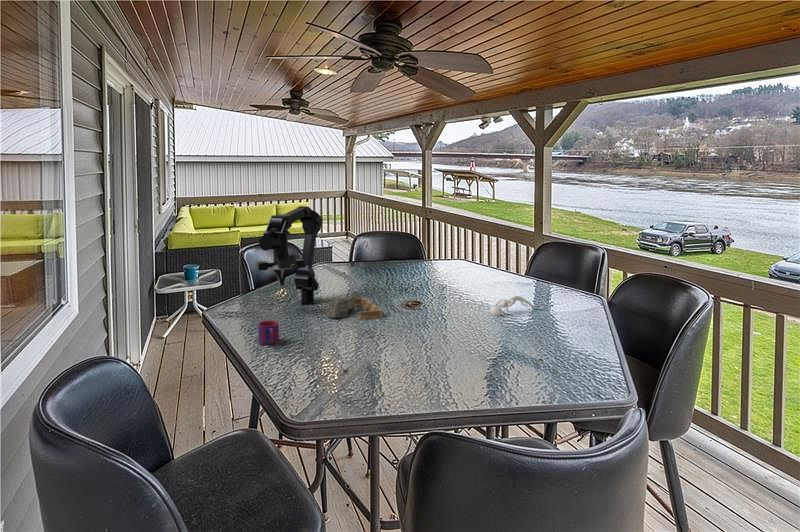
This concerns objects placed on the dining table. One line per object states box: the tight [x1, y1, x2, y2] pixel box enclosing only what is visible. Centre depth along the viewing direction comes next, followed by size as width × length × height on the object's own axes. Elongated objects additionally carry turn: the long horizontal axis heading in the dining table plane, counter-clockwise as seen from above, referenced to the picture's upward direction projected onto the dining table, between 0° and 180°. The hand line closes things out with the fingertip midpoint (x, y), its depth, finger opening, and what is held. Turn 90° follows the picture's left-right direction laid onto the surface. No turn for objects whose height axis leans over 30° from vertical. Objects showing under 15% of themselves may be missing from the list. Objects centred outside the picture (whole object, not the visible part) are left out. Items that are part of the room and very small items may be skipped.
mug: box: [257, 320, 280, 346], centre depth 173 cm, size 7×10×7 cm
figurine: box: [489, 295, 543, 317], centre depth 218 cm, size 9×10×25 cm
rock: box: [325, 295, 356, 319], centre depth 210 cm, size 17×7×10 cm
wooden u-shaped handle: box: [354, 297, 383, 321], centre depth 215 cm, size 23×10×3 cm, turn 24°
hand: (281, 285), depth 208 cm, fingers closed
